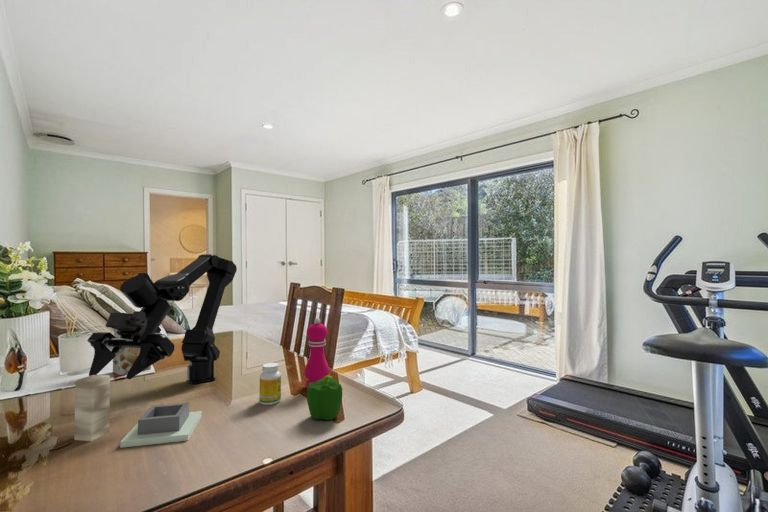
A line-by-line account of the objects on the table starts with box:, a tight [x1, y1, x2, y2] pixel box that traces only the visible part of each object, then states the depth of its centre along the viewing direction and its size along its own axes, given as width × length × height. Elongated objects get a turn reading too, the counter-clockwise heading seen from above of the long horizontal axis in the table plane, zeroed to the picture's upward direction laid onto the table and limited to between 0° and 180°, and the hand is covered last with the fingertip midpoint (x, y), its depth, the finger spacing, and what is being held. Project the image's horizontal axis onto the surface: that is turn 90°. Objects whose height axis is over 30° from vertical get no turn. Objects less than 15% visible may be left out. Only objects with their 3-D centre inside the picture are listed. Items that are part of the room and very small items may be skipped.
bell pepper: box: [306, 374, 343, 421], centre depth 86 cm, size 8×8×10 cm
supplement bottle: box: [258, 362, 282, 406], centre depth 95 cm, size 5×5×10 cm
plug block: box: [73, 374, 111, 442], centre depth 76 cm, size 4×4×12 cm
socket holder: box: [119, 402, 203, 449], centre depth 78 cm, size 12×12×4 cm
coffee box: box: [112, 328, 152, 376], centre depth 121 cm, size 9×6×16 cm
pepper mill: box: [303, 317, 330, 389], centre depth 106 cm, size 7×7×20 cm
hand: (109, 377), depth 80 cm, fingers open, 9 cm apart
